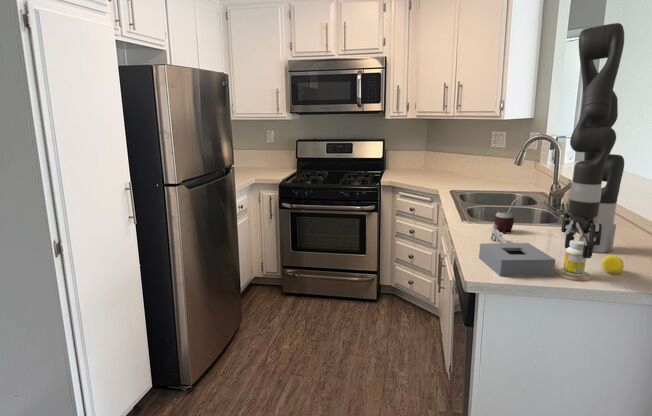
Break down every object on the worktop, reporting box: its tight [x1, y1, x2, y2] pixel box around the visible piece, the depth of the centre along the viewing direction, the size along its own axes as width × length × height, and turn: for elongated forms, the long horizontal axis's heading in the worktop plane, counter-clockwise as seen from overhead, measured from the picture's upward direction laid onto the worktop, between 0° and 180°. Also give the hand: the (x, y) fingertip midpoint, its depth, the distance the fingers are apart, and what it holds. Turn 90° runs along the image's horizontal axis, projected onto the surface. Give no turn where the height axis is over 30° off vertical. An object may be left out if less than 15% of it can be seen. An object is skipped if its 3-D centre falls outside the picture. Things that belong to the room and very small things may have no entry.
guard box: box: [478, 242, 556, 277], centre depth 133 cm, size 16×16×5 cm
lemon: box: [601, 254, 625, 275], centre depth 129 cm, size 7×5×5 cm
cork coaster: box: [555, 267, 592, 282], centre depth 127 cm, size 9×9×1 cm
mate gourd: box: [494, 197, 521, 235], centre depth 170 cm, size 8×8×15 cm
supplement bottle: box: [563, 239, 587, 276], centre depth 126 cm, size 5×5×10 cm
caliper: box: [490, 224, 509, 243], centre depth 152 cm, size 20×1×6 cm, turn 2°
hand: (577, 252), depth 125 cm, fingers open, 8 cm apart
